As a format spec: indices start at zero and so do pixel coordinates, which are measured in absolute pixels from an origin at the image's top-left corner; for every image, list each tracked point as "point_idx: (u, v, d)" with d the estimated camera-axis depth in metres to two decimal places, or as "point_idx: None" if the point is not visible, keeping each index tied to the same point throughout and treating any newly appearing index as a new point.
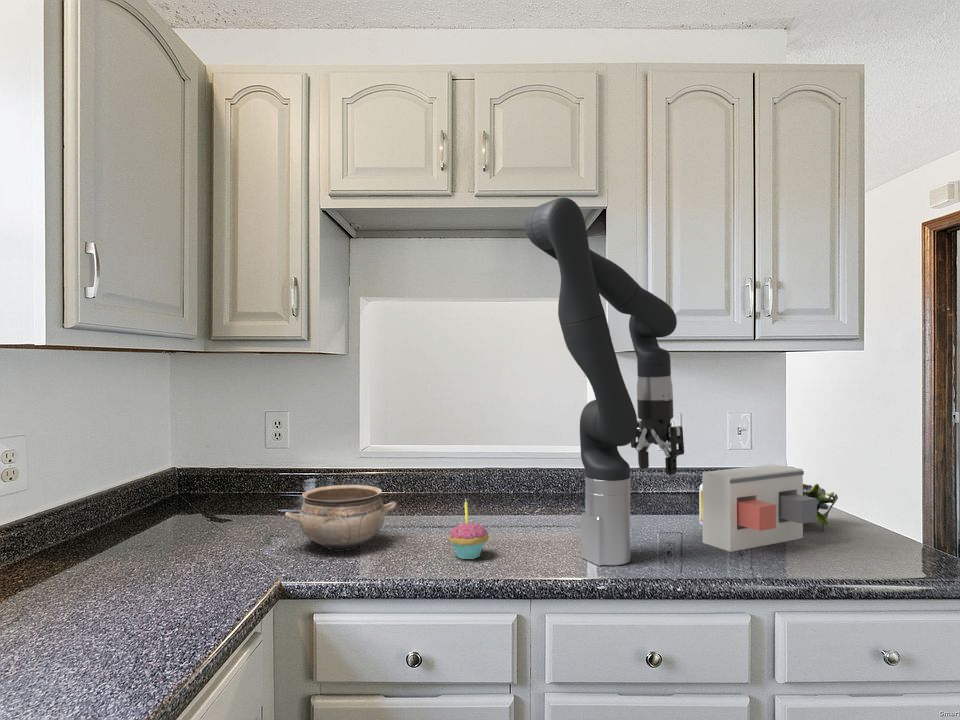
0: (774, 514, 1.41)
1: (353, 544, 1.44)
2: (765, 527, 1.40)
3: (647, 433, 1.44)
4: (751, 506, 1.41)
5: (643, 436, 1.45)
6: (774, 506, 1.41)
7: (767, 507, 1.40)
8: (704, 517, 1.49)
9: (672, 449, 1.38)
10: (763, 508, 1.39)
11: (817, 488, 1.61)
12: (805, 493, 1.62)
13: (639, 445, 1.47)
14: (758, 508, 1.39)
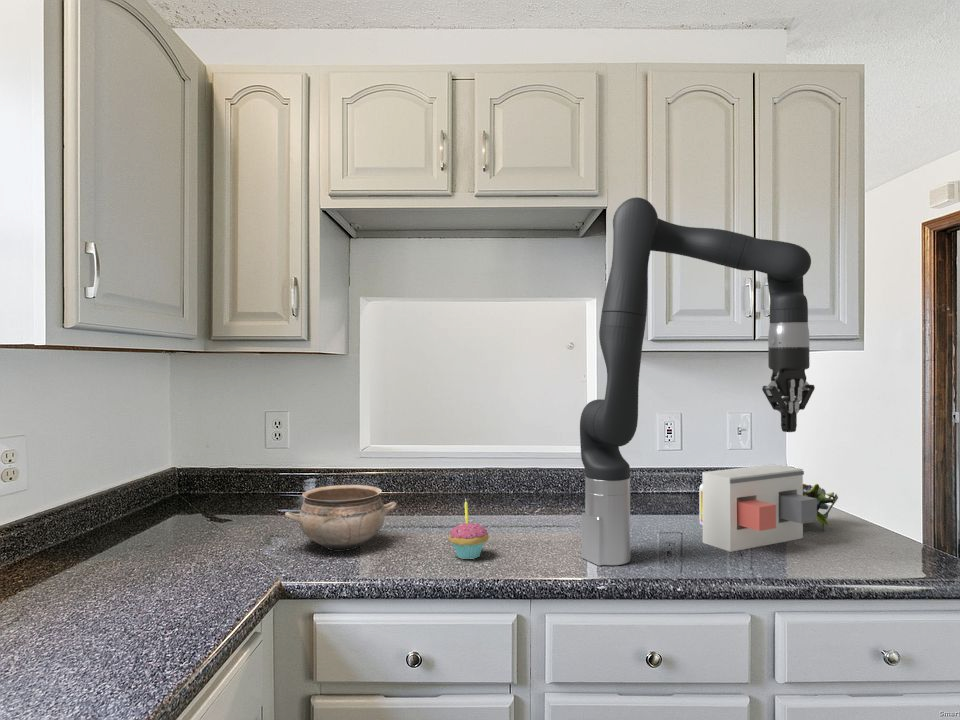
0: (774, 514, 1.41)
1: (353, 544, 1.44)
2: (765, 527, 1.40)
3: None
4: (751, 506, 1.41)
5: (792, 390, 1.31)
6: (774, 506, 1.41)
7: (767, 507, 1.40)
8: (704, 517, 1.49)
9: (803, 403, 1.33)
10: (763, 508, 1.39)
11: (817, 488, 1.61)
12: (805, 493, 1.62)
13: (793, 406, 1.32)
14: (758, 508, 1.39)
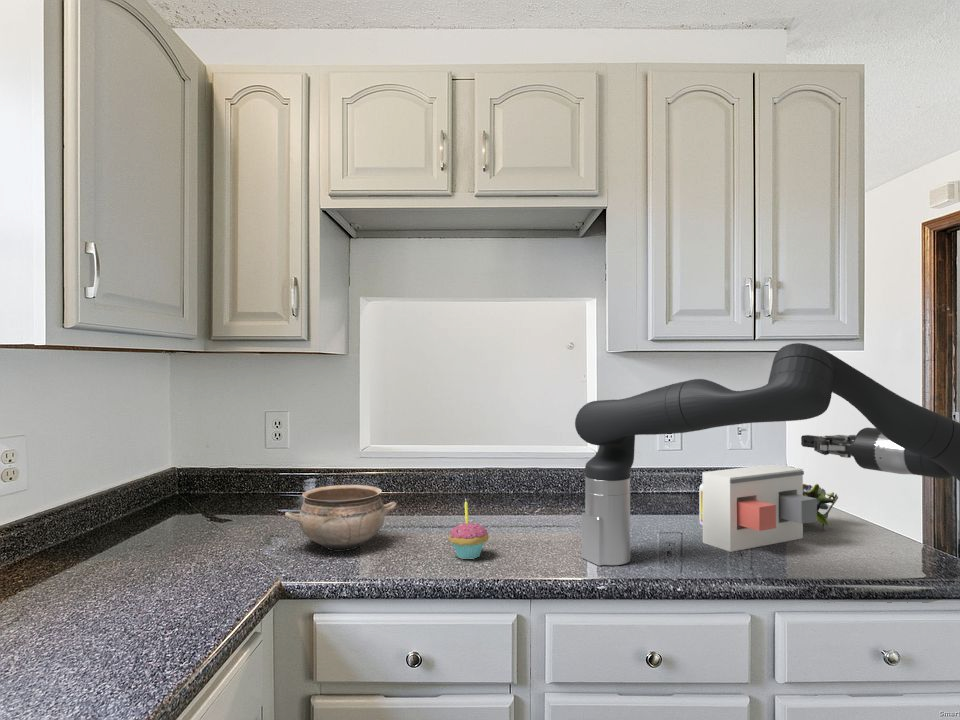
0: (774, 514, 1.41)
1: (353, 544, 1.44)
2: (765, 527, 1.40)
3: None
4: (751, 506, 1.41)
5: None
6: (774, 506, 1.41)
7: (767, 507, 1.40)
8: (704, 517, 1.49)
9: None
10: (763, 508, 1.39)
11: (817, 488, 1.61)
12: (805, 493, 1.62)
13: None
14: (758, 508, 1.39)
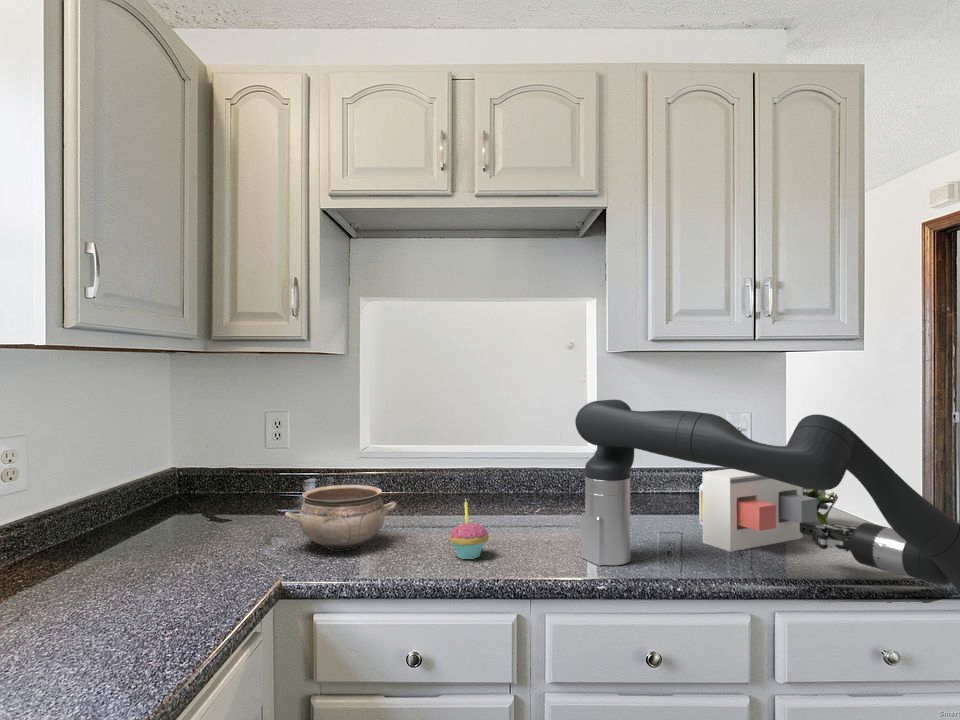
0: (774, 514, 1.41)
1: (353, 544, 1.44)
2: (765, 527, 1.40)
3: None
4: (751, 506, 1.41)
5: None
6: (774, 506, 1.41)
7: (767, 507, 1.40)
8: (704, 517, 1.49)
9: None
10: (763, 508, 1.39)
11: None
12: (805, 493, 1.62)
13: None
14: (758, 508, 1.39)
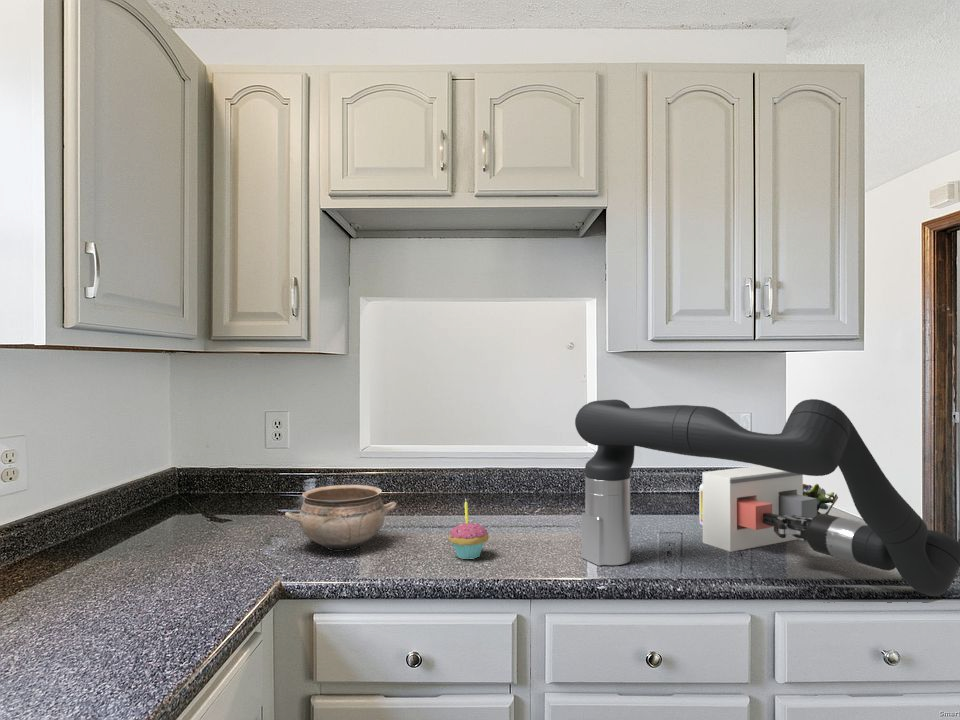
0: None
1: (353, 544, 1.44)
2: (761, 526, 1.41)
3: None
4: (747, 505, 1.41)
5: None
6: (770, 505, 1.42)
7: (763, 506, 1.41)
8: (704, 517, 1.49)
9: None
10: (759, 507, 1.40)
11: (817, 488, 1.61)
12: (805, 493, 1.62)
13: None
14: (754, 507, 1.40)
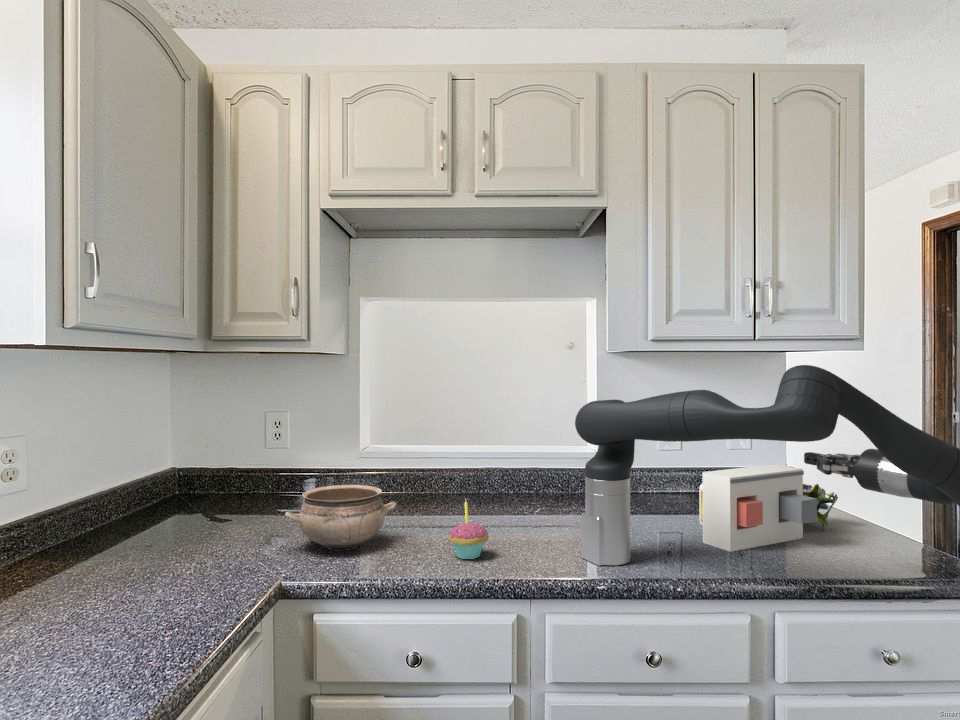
0: (761, 511, 1.44)
1: (353, 544, 1.44)
2: (752, 523, 1.43)
3: None
4: (738, 503, 1.44)
5: None
6: (761, 503, 1.44)
7: (754, 504, 1.43)
8: (704, 517, 1.49)
9: None
10: (750, 505, 1.42)
11: (817, 488, 1.61)
12: (805, 493, 1.62)
13: None
14: (745, 505, 1.42)
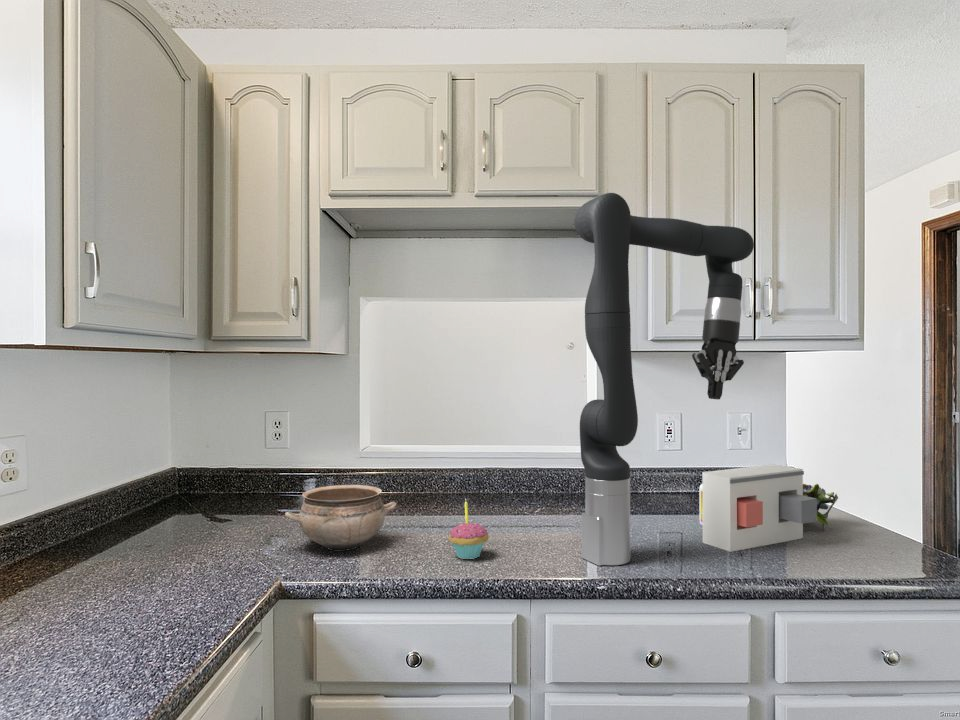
0: (761, 511, 1.44)
1: (353, 544, 1.44)
2: (752, 523, 1.43)
3: None
4: (738, 503, 1.44)
5: (720, 359, 1.43)
6: (761, 503, 1.44)
7: (754, 504, 1.43)
8: (704, 517, 1.49)
9: (730, 374, 1.45)
10: (750, 505, 1.42)
11: (817, 488, 1.61)
12: (805, 493, 1.62)
13: (719, 375, 1.43)
14: (745, 505, 1.42)
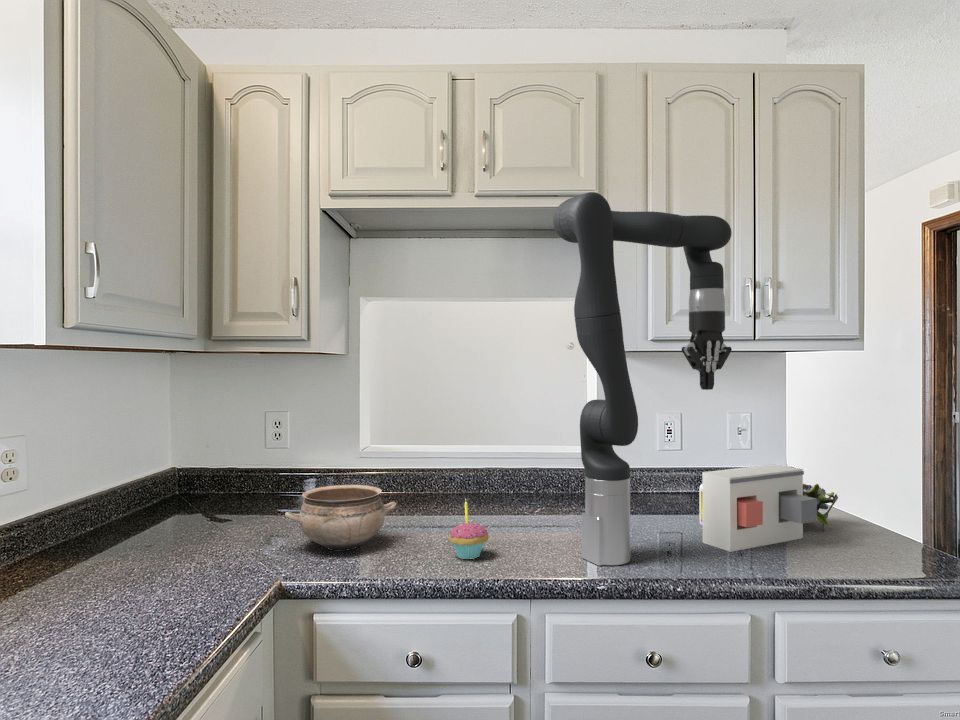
0: (761, 511, 1.44)
1: (353, 544, 1.44)
2: (752, 523, 1.43)
3: None
4: (738, 503, 1.44)
5: (709, 350, 1.43)
6: (761, 503, 1.44)
7: (754, 504, 1.43)
8: (704, 517, 1.49)
9: (720, 363, 1.45)
10: (750, 505, 1.42)
11: (817, 488, 1.61)
12: (805, 493, 1.62)
13: (710, 365, 1.44)
14: (745, 505, 1.42)
